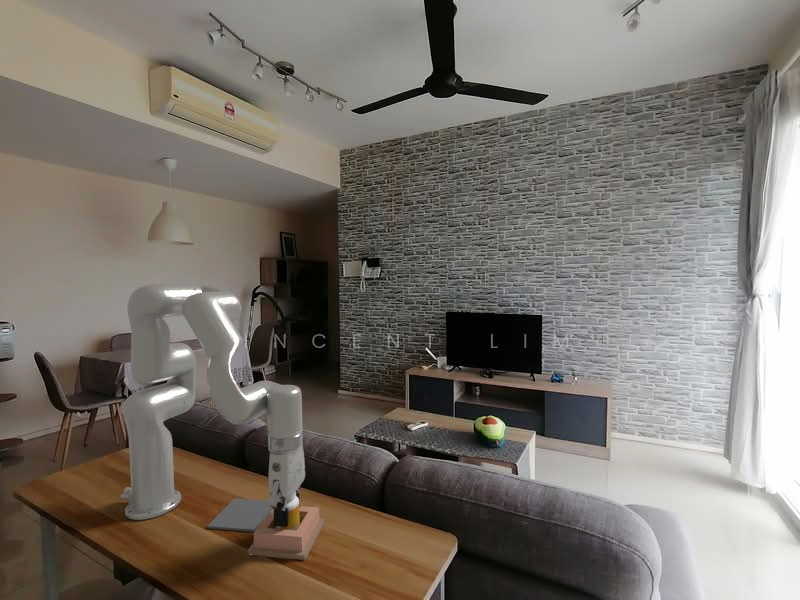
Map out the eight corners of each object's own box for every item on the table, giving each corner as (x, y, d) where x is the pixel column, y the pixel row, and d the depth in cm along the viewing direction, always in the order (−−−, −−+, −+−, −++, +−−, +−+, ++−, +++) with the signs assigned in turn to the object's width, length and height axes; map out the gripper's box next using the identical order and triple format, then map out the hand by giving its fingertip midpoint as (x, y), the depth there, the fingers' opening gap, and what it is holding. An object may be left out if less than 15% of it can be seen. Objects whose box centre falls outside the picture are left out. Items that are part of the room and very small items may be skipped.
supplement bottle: (304, 528, 91) (303, 488, 90) (286, 542, 86) (285, 499, 86) (288, 521, 94) (287, 482, 93) (270, 533, 89) (269, 492, 89)
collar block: (247, 555, 84) (246, 535, 84) (274, 518, 97) (274, 501, 97) (304, 560, 83) (304, 540, 83) (324, 522, 96) (324, 505, 95)
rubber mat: (207, 528, 94) (207, 525, 94) (234, 500, 106) (234, 498, 106) (254, 532, 92) (254, 529, 92) (276, 503, 104) (276, 501, 104)
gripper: (284, 458, 80) (286, 543, 81) (314, 427, 97) (315, 498, 98) (250, 456, 81) (253, 540, 82) (286, 425, 98) (287, 495, 99)
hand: (287, 516), depth 90 cm, fingers closed on supplement bottle, 5 cm apart
